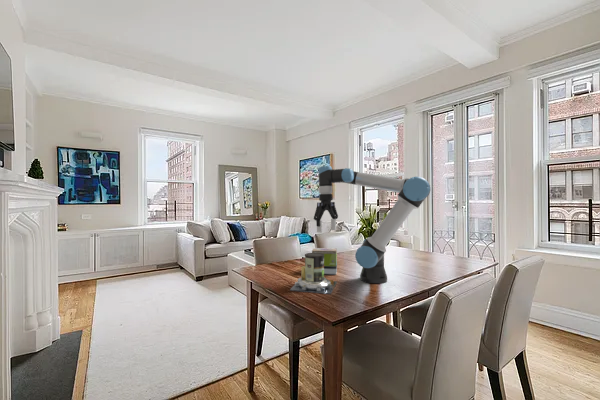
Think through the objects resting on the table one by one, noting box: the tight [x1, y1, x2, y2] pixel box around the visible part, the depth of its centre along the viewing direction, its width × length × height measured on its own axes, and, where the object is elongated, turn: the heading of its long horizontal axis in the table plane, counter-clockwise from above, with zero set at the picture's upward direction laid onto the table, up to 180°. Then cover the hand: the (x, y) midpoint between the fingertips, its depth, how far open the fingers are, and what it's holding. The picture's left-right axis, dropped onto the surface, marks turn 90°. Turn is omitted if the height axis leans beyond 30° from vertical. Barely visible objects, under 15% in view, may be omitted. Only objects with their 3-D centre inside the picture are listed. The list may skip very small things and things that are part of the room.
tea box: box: [311, 247, 338, 275], centre depth 186 cm, size 15×10×15 cm
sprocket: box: [294, 265, 335, 291], centre depth 157 cm, size 21×21×9 cm
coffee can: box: [304, 252, 325, 284], centre depth 157 cm, size 10×10×14 cm
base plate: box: [289, 280, 338, 295], centre depth 157 cm, size 21×21×1 cm
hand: (326, 231), depth 167 cm, fingers open, 13 cm apart
